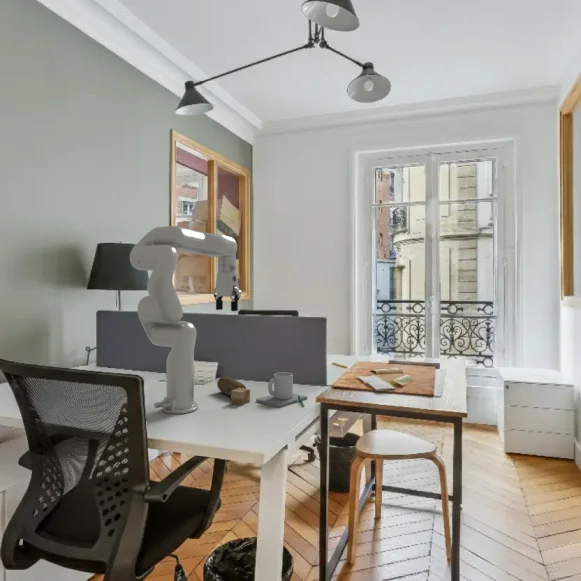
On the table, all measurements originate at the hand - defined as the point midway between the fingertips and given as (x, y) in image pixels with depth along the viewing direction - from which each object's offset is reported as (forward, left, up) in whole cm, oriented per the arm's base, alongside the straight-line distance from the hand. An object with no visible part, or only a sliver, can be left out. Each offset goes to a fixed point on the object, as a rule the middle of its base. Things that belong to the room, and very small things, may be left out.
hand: (226, 310), depth 192 cm
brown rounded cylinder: (-5, -9, -34) cm, 35 cm away
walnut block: (-10, -20, -33) cm, 40 cm away
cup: (+3, -29, -32) cm, 43 cm away
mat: (+3, -29, -33) cm, 44 cm away
